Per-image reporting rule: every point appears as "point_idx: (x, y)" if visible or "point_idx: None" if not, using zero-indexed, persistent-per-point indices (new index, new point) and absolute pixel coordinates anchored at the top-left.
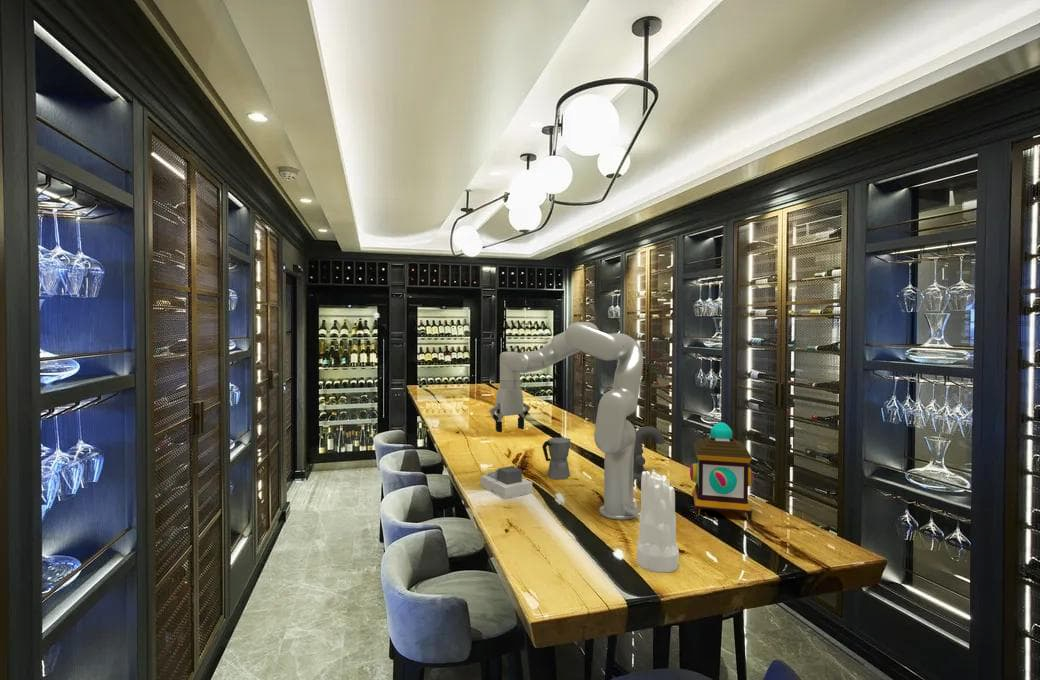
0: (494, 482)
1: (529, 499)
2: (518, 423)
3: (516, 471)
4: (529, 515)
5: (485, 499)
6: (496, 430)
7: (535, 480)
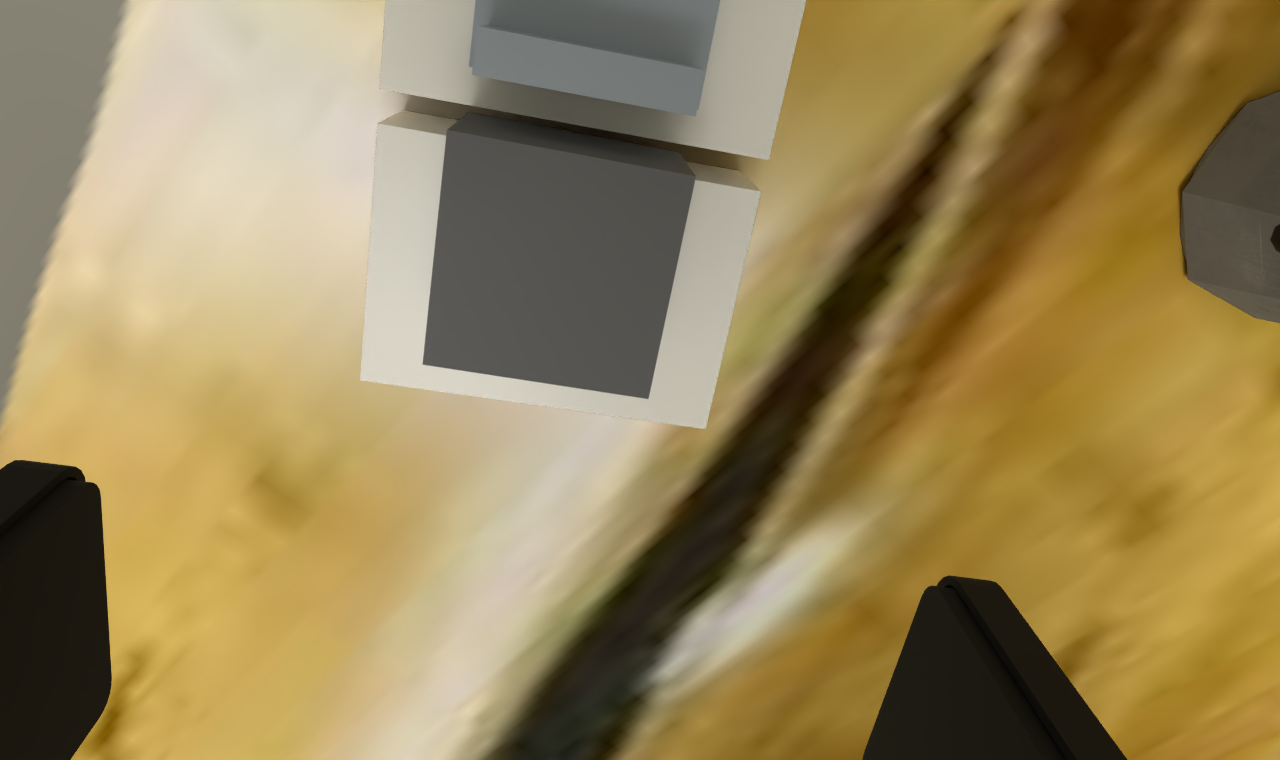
0: (381, 147)
1: (551, 481)
2: (980, 725)
3: (568, 383)
4: (318, 699)
5: (220, 217)
6: (14, 486)
7: (1027, 122)
